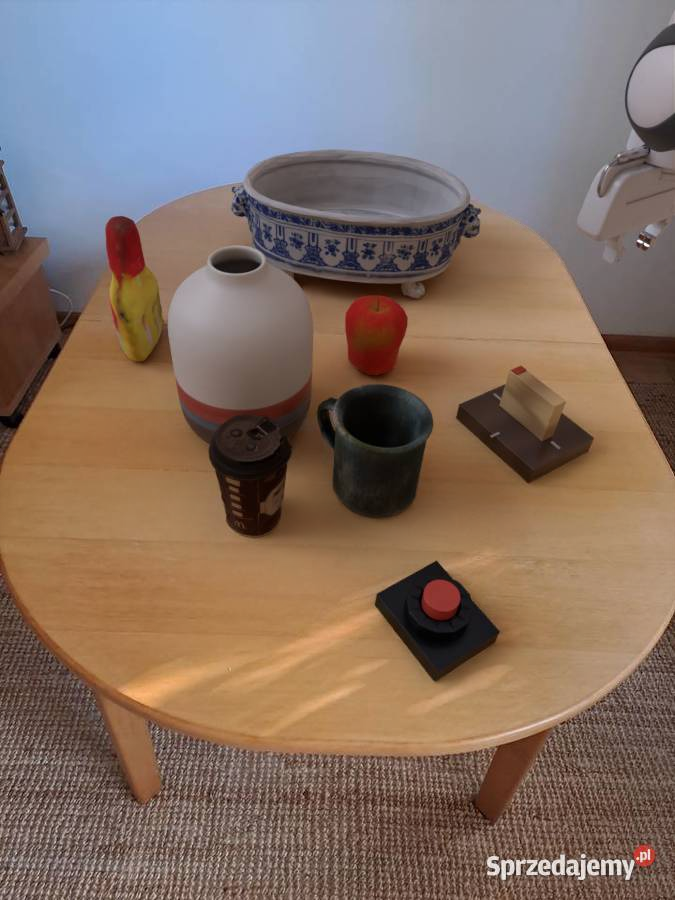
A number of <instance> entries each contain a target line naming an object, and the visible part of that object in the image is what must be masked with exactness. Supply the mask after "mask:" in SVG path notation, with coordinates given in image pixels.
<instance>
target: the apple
mask: <svg viewBox="0 0 675 900" xmlns="http://www.w3.org/2000/svg"><path fill="white" fill-rule="evenodd" d="M344 319H345V320H344V321H345V323H344V324H345V325H344V326H345V327H344V330H345V338H346V343H347V359H348V361H349V362H350V364H351V365H352V366H353V367H355V368H356V369H357V370H359V372H362V373H363V374H366V375H368V376H377V375H378V376H379V375H382V374H385V373H387V372H389V371H392V370H393V369H394V367H395V366H396V364H397V362H398V356H399V352H400V348H401V345H402V343H403V341H404V339H405V337H406V332H407V330H408V329H407V328H408V324H409V323H408V319H409V316H408V315H407V313H406V310H405V309H404V308H403V306H401V304H399V303H398V302H397V301H395V300H394V299H392V298H389V297H387V296H383V295H374V294H373V295H364V296H360V297H358V298H356V299H355V300H354V301H353V302H352V303H351V304H350V305H349V307H348V309H347V311H346V312H345V318H344Z"/></svg>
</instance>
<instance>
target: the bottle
mask: <svg viewBox="0 0 675 900" xmlns="http://www.w3.org/2000/svg"><path fill="white" fill-rule="evenodd" d="M104 231H105V232H104V233H105V248H106V250H105V251H106V255H107V260H108V265H109V269H110V271H111V276H112V278H111V281H110V287H109V305H110V309H111V316H112V320H113V323H114V328H115V331H116V334H117V337H118V340H119V343H120V346H121V348H122V350H123V353H124V354H125V356H126V357H127V358H128V359H130V360H131V361H134V362H144V361H146V360H147V358H148V357H149V356H150V355H151V353H153V351H154V349H155V347H156V346H157V344H158V342H159V341H160V336H161V334H162V331H163V324H164V322H165V319H164V317H163V309H162V304H161V296H160V287H159V283H158V280H157V278H156V276H155V274H154V273H153V272H152V271H151V269H149V267H148V266H147V264H146V261H145V257H144V256H145V255H144V252H143V246H142V241H141V236H140V233H139V229H138V227H137V225H136V222H135V221H134V220H133V219H132V218H129V217H127V216H124V215H117V216H113V217H111V218H109V219H108V221H107V222H106V225H105V230H104Z"/></svg>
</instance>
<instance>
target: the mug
mask: <svg viewBox="0 0 675 900" xmlns="http://www.w3.org/2000/svg"><path fill="white" fill-rule="evenodd" d="M330 411H331V412H332V418H331V415H330ZM316 418H317V419H316V420H317V425H318V428H319V431H320V434H321V436H322V438H323V440H324V441H325V443H326V444H327V446H329V447H330V448H331V449H332V450H333V465H332V466H333V467H332V488H333V491H334V493H335V495H336V497H337V498H338V499H339V501H341V502H342V504H343V505H345V507H347V508H348V509H350V510H351V511H353V512H355V513H356V514H360V515H362V516H366V517H372V518H386V517H390V516H394V515H397V514H399V513H401V512H403V511H404V510H406V509H407V508H408V507H410V506H411V505H412V503H413V502H414V500H415V499H416V495H417V491H418V485H419V481H420V476H421V471H422V466H423V462H424V461H423V460H424V455H425V450H426V445H427V440H428V439H430V436H431V434H432V433H433V430H434V416H433V414H432V411H431V409H430V407H429V406H428V405H427V404H426V403H425V401H424V400H423V399H421V398H420V397H419V396H418V395H416V394H414V393H413V392H411V391H409V390H408V389H405V388H401V387H399V386H395V385H391V384H384V383H369V384H363V385H358V386H355V387H353V388H351V389H349V390H346V391H345V392H344V393H343V394H341V395H340V396H339V397H338V398H335V397H333V396H330V397H328V398H327V399H325V400H323V401H321V402H320V403H319V405H317V410H316ZM331 419H332V420H333V422H332V420H331ZM334 426H335V428H334Z"/></svg>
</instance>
